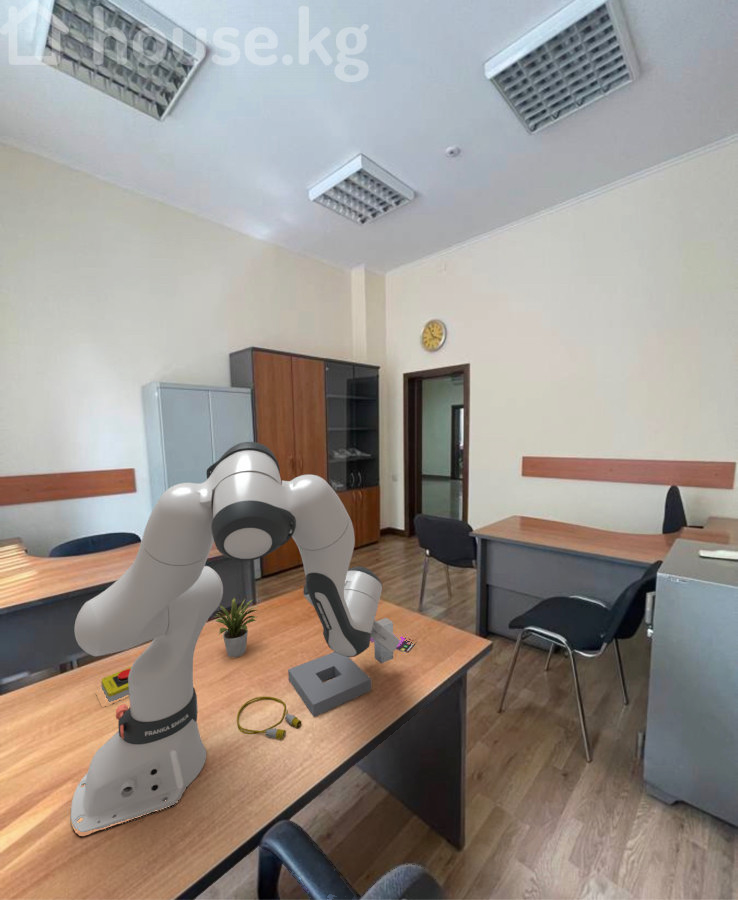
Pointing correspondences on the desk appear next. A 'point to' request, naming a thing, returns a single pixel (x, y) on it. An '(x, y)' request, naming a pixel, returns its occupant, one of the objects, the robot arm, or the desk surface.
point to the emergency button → (116, 685)
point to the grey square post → (380, 651)
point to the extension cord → (273, 732)
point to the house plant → (235, 628)
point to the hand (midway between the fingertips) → (385, 638)
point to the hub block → (328, 682)
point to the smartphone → (402, 645)
